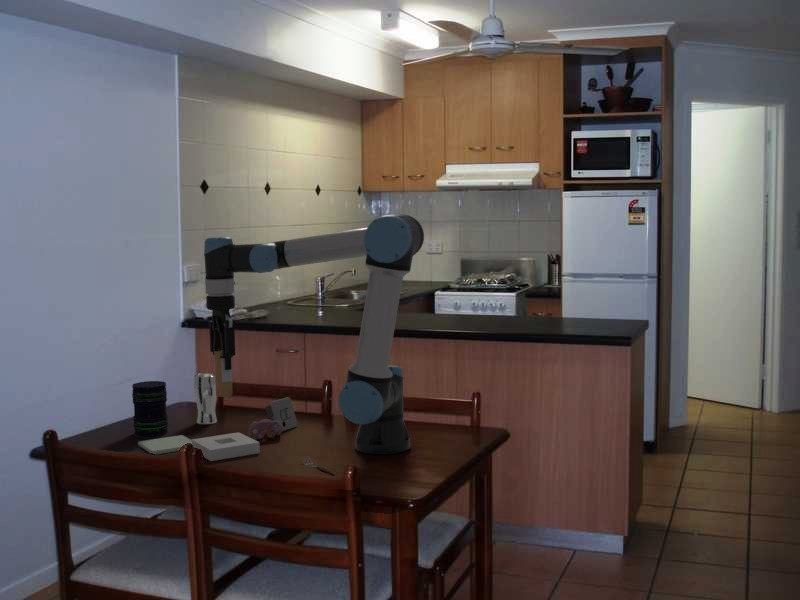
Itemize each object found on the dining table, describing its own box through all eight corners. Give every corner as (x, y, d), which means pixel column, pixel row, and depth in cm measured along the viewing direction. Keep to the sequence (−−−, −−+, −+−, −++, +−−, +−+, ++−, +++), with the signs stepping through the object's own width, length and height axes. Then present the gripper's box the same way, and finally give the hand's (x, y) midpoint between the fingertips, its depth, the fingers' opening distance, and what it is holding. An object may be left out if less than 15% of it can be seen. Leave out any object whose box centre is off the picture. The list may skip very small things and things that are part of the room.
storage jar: (134, 438, 272) (132, 388, 271) (133, 431, 282) (131, 382, 280) (169, 435, 275) (167, 385, 274) (167, 428, 285) (165, 380, 283)
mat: (198, 447, 261) (198, 444, 261) (152, 454, 254) (152, 451, 254) (182, 438, 272) (182, 435, 272) (138, 445, 265) (137, 441, 265)
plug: (234, 395, 254) (233, 351, 253) (219, 397, 252) (217, 353, 251) (228, 392, 258) (227, 349, 257) (213, 394, 255) (211, 351, 254)
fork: (330, 478, 231) (330, 470, 231) (299, 464, 244) (299, 456, 244) (339, 476, 232) (339, 468, 232) (308, 462, 245) (308, 455, 245)
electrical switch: (280, 433, 277) (276, 402, 276) (266, 433, 279) (262, 402, 279) (298, 426, 285) (294, 396, 284) (284, 426, 287) (281, 396, 287)
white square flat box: (259, 453, 254) (259, 442, 254) (210, 461, 247) (210, 450, 246) (239, 442, 266) (238, 432, 266) (191, 450, 258) (191, 439, 258)
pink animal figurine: (248, 445, 269) (249, 426, 265) (246, 435, 273) (247, 416, 269) (282, 442, 272) (283, 423, 268) (280, 432, 276) (281, 413, 272)
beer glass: (191, 424, 290) (189, 376, 288) (202, 419, 296) (200, 372, 295) (211, 425, 288) (209, 377, 286) (222, 420, 294) (220, 373, 293)
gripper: (246, 295, 247) (249, 383, 249) (221, 291, 261) (224, 374, 264) (219, 297, 243) (222, 386, 245) (195, 293, 257) (198, 377, 260)
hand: (223, 380), depth 254 cm, fingers closed on plug, 4 cm apart
